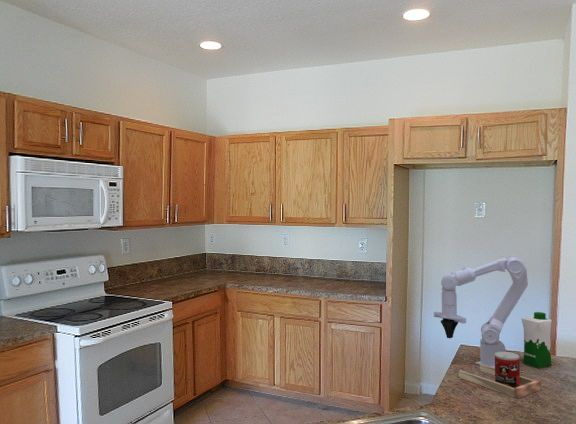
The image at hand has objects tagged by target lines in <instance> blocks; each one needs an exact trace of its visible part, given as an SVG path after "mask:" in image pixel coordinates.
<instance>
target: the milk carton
mask: <svg viewBox="0 0 576 424" xmlns="http://www.w3.org/2000/svg"><path fill="white" fill-rule="evenodd" d="M546 315H547V314H546V313H545V312H540V311H535V312H533V316H525V317H523V318H521V323H522V327H523V362H522V363H523V364H524V365H528V366H530V367H533V368H537V369H539V370H540V369H543V368H548V367H552V352H551V351H552V350H551V348H552V347H551V331H552V329H551V328H552V321H553V320H552V319H549V318H546V317H547V316H546Z"/></svg>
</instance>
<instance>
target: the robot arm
mask: <svg viewBox="0 0 576 424" xmlns="http://www.w3.org/2000/svg"><path fill="white" fill-rule="evenodd" d="M496 271H498V272H502V273H503V272H504V273H505V272H506V271H507V272H508V273H509V275H510V277H511V281H512V283H511V285H510V287H509V289H507V292H506V294H505V295H504V296H503V298H502V300H501V302H500V303H499V304H498V305H497V306H498V307H497V308H496V309H495V311H494V312H493V314H492V316H491V317H490V318H489V319H488V321H486V322H485V323H483V324H482V325H481V328H480V333H481V339H479V341H480V342H479V345H480V346H479V347H480V352H479V353H480V360H479V361H475V364H476V365H479V366H480V364H484V365H487V366H490V367H494V368H495V353H497V352H506V347H505V344H504V343H503V342H502V341H501V340H499V339H500V334H501V332H502V330H503V327H504V324H505V323H506V321H507V319H508V318H509V316H510V314H511V313H512V311H514V308H515V307H516V305H517V303H518V301H519V300H520V299H521V297H522V295H523V294H524V293H525V291H526V289H527V288H528V284H529V283H528V274H527V272H528V269H527V267H526V266H525V263H524V262H523V260H522V259H520V258H519V257H517V256H515V255H511V256H508V257H507V258H506V257H504V258H503V257H502V258H499V259H496V260H492V261H490V262H488V263H485V264H483V265H481V266H478V267H475V268H471V267H466V266H463V267H461V269H460V270H457V271H451V272H450V274H449V273H447V274H445V275H443V276H442V278H441V279H440V280H441V282H440V284H441V311H434V312H433V317H434V318H438V319H439V318H440V319H441V320H440V323H441V325H442V327H443V329H444V331H445V335H446V339H452V338H453V337H454V333H455V330H456V327H457V326H458V324H459V323H460V324H467V318H466V317H463V316H461V315H458V314H457V313H458V312H457V310H458V309H457V308H458V307H457V306H458V305H457V292H456V291H457V288H456V287H460V286H463V285H465V284H466V285H467V284H469V283H472V282H475V280H476V279H477V277H479V276H483V275H486V274H489V273H492V272H496Z"/></svg>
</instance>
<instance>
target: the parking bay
mask: <svg viewBox="0 0 576 424" xmlns="http://www.w3.org/2000/svg"><path fill="white" fill-rule="evenodd" d="M479 372H481V373H485V374H488V375H490V376H491V375H492V376H494V377H495V368H494V367H490V366H487V365H484V364H480V365H479ZM458 378H459V379H461V380H465V381H467V382H471V383H472V384H476V385H478V386H481V387H484V388H487V389H489V390H493V391H496V392H499V393H501V394H504V395H507V396H510V397H513V398H514V399H521V398H523V397H526V396H529V395H531V394H533V393H536V392H539V391H541V390H542V380H540V379H532V378H528V377H525V376H522V375H520V386H519V387H516V388H512V387H509V386H506V385H503V384H500V383H498V382H495V380H493V379H489V378H485V377H482V376H479V375H477V374H474V373H470V372H467V371H464V370H458Z"/></svg>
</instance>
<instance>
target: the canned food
mask: <svg viewBox="0 0 576 424" xmlns="http://www.w3.org/2000/svg"><path fill="white" fill-rule="evenodd" d="M520 364H521V363H520V354H517V353H514V352H510V351H505V352H497V353H495V376H494V381H495V382H498V383H500V384H503V385H506V386H509V387H512V388H516V387H519V386H521V384H520V376H521V375H520V373H521V371H520V370H521V368H520V366H521V365H520Z"/></svg>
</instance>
